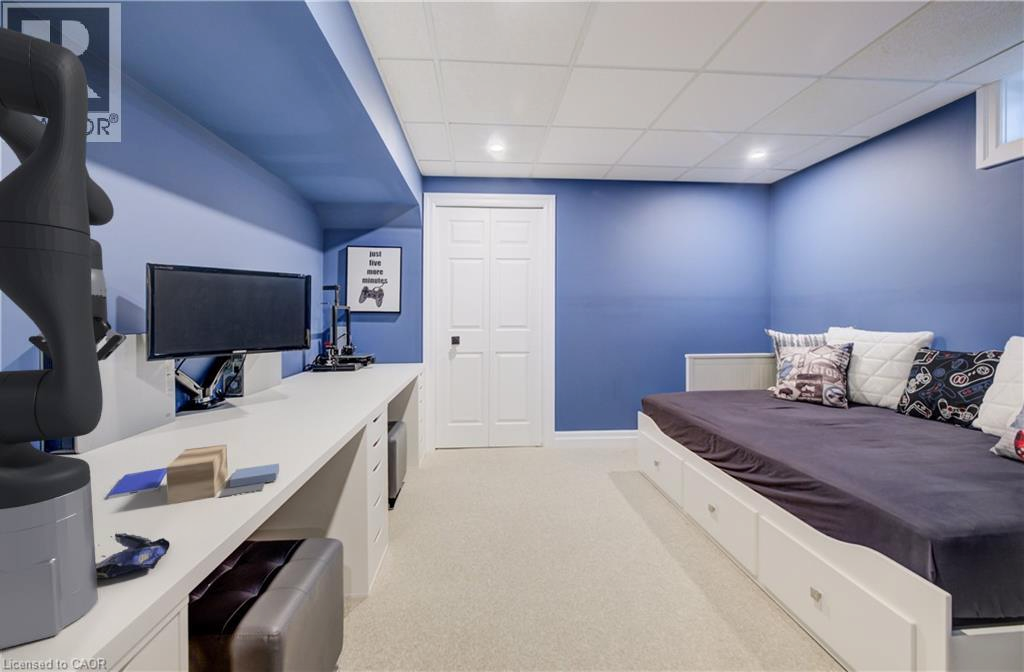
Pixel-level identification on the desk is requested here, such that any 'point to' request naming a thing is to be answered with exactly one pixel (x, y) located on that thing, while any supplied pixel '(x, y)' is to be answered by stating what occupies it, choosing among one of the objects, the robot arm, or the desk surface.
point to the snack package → (132, 555)
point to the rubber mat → (240, 489)
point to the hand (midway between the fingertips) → (82, 384)
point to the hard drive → (138, 483)
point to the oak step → (197, 474)
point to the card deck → (254, 475)
